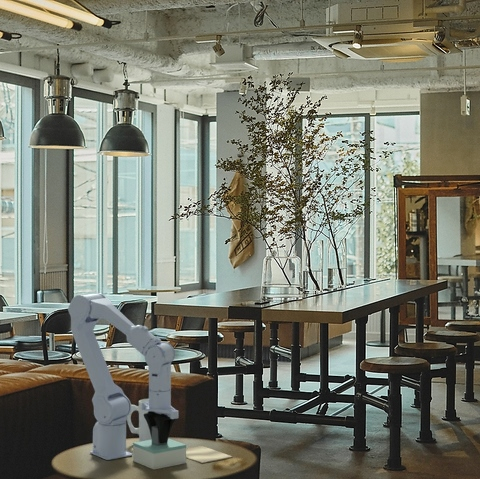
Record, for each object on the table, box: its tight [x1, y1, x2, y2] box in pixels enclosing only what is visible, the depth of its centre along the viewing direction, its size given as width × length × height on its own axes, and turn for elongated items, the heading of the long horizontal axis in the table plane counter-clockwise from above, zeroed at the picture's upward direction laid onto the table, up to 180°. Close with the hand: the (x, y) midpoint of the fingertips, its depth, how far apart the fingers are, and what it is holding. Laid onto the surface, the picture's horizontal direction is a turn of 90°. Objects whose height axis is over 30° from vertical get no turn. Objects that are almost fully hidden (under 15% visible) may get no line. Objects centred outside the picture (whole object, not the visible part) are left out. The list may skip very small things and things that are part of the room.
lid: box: [132, 426, 187, 454], centre depth 238 cm, size 10×10×6 cm
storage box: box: [132, 445, 187, 470], centre depth 238 cm, size 10×10×4 cm
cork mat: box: [186, 445, 234, 465], centre depth 246 cm, size 14×10×1 cm
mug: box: [126, 398, 152, 442], centre depth 258 cm, size 10×7×12 cm, turn 90°
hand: (159, 441), depth 238 cm, fingers closed on lid, 3 cm apart
